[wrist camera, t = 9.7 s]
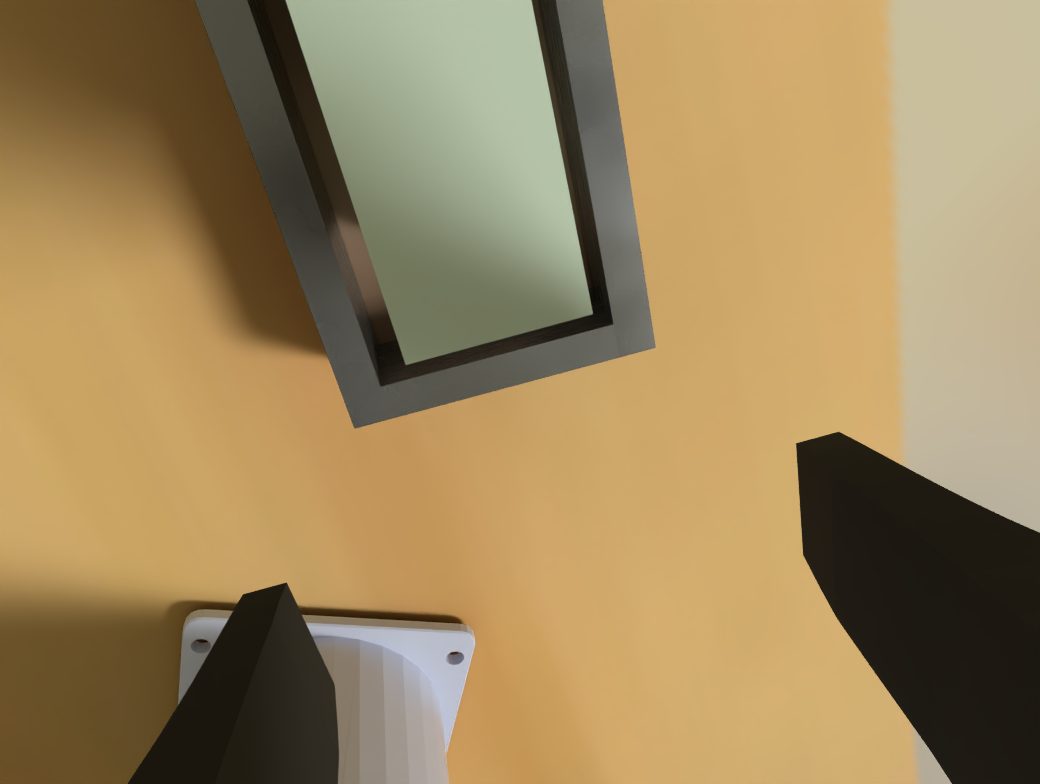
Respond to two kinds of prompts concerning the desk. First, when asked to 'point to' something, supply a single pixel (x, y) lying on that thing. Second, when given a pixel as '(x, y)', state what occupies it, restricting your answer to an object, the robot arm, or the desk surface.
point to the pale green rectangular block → (449, 164)
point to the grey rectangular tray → (340, 243)
